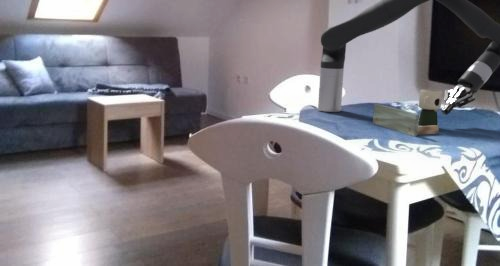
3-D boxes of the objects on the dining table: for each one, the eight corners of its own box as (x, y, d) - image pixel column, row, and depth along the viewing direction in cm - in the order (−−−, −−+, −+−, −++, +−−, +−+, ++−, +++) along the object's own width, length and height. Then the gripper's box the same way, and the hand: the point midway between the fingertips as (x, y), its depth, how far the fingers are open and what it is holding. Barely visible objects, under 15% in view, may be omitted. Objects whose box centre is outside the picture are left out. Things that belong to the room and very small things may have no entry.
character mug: (433, 131, 161) (437, 92, 158) (411, 128, 165) (415, 90, 162) (442, 126, 170) (446, 89, 167) (422, 123, 174) (425, 87, 171)
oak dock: (414, 136, 152) (416, 114, 151) (372, 123, 172) (374, 103, 171) (442, 134, 156) (444, 113, 155) (398, 121, 176) (400, 102, 175)
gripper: (456, 68, 175) (425, 102, 173) (485, 71, 163) (452, 108, 161) (465, 82, 178) (435, 116, 176) (495, 87, 166) (463, 123, 164)
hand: (443, 112), depth 169 cm, fingers closed
